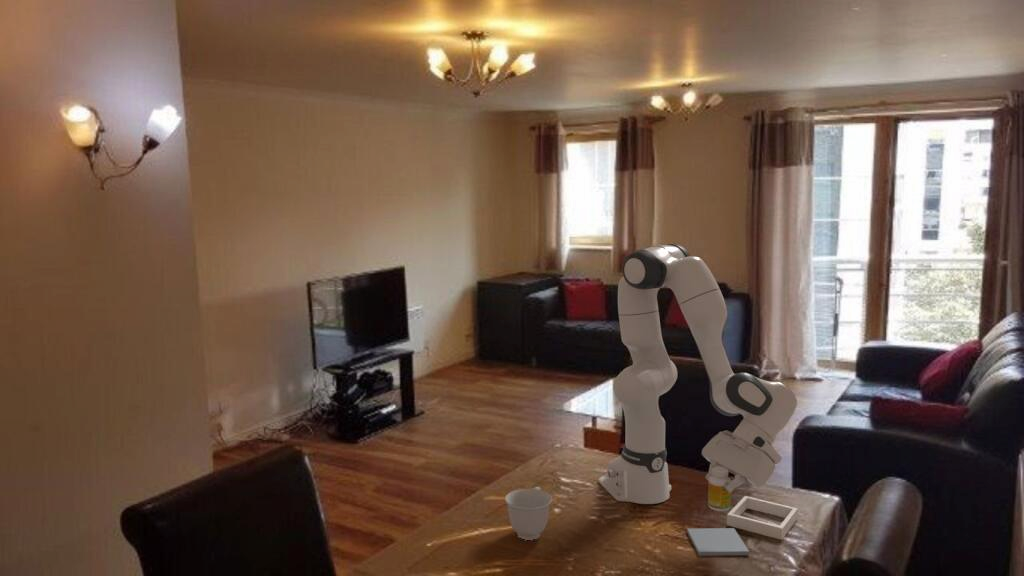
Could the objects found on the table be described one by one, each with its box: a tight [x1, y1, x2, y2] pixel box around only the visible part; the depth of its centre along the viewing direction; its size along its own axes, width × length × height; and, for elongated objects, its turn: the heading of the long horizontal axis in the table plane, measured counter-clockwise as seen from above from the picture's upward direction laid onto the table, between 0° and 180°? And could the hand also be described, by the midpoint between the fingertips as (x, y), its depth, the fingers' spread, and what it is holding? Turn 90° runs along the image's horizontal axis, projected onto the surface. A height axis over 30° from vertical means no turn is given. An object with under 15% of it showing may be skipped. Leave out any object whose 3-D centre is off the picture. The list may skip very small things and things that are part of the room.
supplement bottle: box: [707, 466, 732, 512], centre depth 182 cm, size 5×5×10 cm
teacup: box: [504, 486, 553, 541], centre depth 190 cm, size 12×15×10 cm
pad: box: [686, 527, 750, 557], centre depth 184 cm, size 12×12×1 cm
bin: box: [726, 495, 799, 541], centre depth 195 cm, size 14×14×3 cm
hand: (717, 485), depth 182 cm, fingers closed on supplement bottle, 5 cm apart
